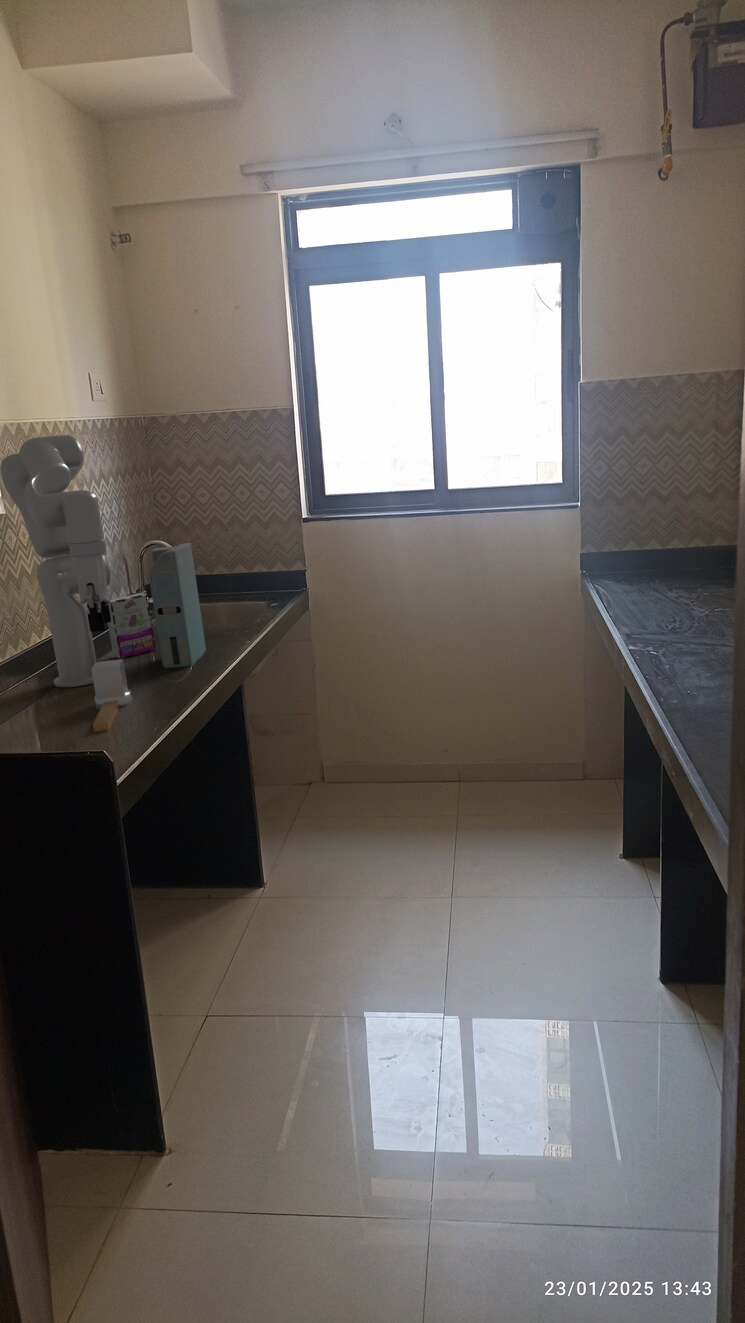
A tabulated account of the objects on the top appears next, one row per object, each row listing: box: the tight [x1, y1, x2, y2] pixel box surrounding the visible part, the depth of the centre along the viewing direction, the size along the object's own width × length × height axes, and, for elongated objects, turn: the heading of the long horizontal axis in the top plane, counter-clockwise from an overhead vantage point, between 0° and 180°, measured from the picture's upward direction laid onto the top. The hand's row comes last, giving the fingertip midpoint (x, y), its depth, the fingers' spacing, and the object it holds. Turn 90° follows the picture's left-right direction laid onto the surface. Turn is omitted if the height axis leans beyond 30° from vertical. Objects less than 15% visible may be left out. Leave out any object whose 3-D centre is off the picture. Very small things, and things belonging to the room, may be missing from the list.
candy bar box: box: [107, 592, 157, 660], centre depth 259 cm, size 11×5×16 cm, turn 131°
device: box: [148, 542, 207, 669], centre depth 245 cm, size 16×8×30 cm, turn 177°
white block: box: [91, 659, 128, 699], centre depth 210 cm, size 6×6×7 cm
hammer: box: [92, 689, 133, 733], centre depth 203 cm, size 24×8×6 cm, turn 8°
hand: (101, 626), depth 207 cm, fingers open, 8 cm apart
